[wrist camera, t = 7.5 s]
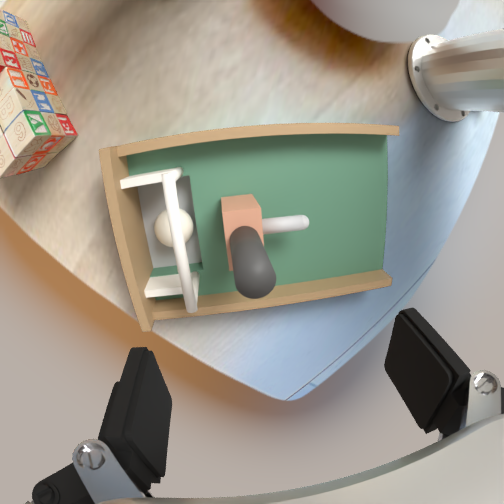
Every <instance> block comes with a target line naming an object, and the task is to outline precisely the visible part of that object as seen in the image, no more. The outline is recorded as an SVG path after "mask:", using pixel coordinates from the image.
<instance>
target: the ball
mask: <svg viewBox="0 0 504 504" xmlns="http://www.w3.org/2000/svg"><path fill="white" fill-rule="evenodd" d="M179 210H180V216H181V222H182V228H183V234H184V240H185V243H186V242H187V241H188V240H189V239H190V237H191V235H192V232H193V222H192V219H191V217H190V215H189V214H188V213H187V212H186V211H184V210H182V209H180V208H179ZM154 231H155V235H156V237H157V238H158V240H159V241H160V242H161V243H162V244H164V245H166V246H169V247H173V243H172V238H171V232H170V227H169V221H168V215H167V209H165V210H164V211H162V212H161V213H160V214H159V215H158V217H157V218H156V221H155V224H154Z"/></svg>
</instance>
